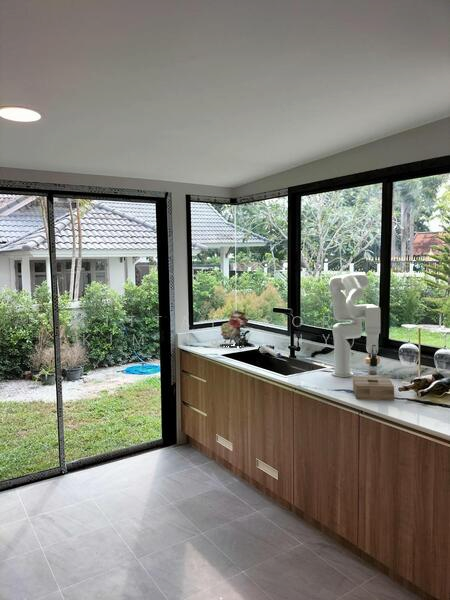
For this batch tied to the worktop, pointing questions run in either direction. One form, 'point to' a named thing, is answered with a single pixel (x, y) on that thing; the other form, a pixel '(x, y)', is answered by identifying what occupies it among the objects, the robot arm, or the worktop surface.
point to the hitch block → (373, 388)
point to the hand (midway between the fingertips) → (372, 364)
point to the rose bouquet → (235, 329)
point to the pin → (372, 368)
